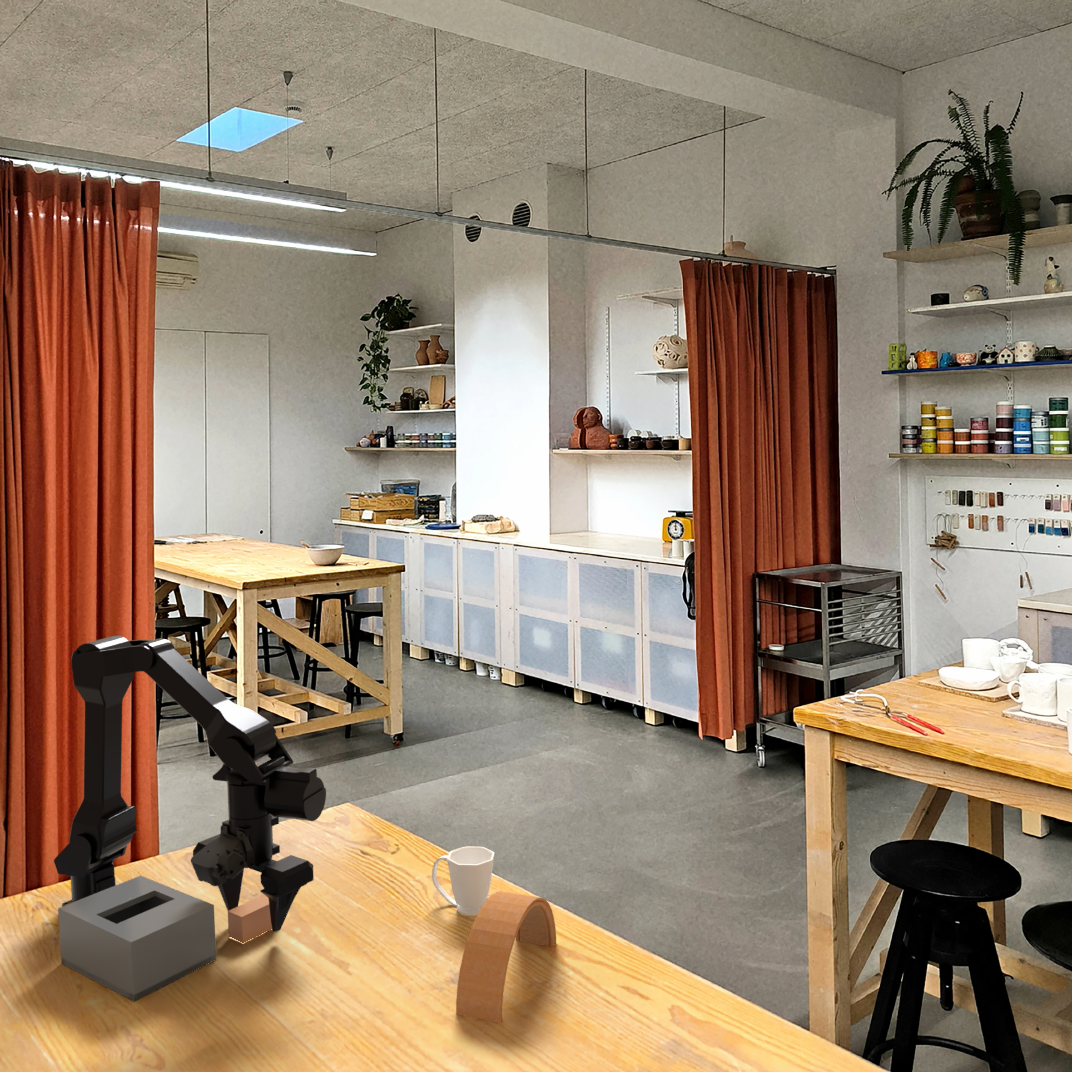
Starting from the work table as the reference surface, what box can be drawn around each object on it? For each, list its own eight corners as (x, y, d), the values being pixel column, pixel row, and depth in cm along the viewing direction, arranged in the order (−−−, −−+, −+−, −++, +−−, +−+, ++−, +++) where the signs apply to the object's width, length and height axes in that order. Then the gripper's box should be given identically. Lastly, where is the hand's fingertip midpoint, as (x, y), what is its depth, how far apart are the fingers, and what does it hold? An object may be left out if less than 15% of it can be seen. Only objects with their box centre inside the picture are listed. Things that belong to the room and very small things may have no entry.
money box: (61, 963, 134) (58, 908, 133) (143, 927, 144) (140, 875, 143) (134, 1001, 125) (131, 942, 124) (216, 960, 135) (213, 904, 134)
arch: (557, 944, 138) (557, 872, 137) (499, 1024, 120) (498, 942, 119) (517, 937, 140) (516, 866, 139) (454, 1014, 122) (453, 933, 121)
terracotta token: (228, 939, 141) (227, 911, 140) (266, 920, 146) (265, 893, 145) (243, 945, 139) (242, 916, 138) (280, 926, 144) (279, 899, 144)
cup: (480, 924, 144) (479, 868, 143) (420, 910, 148) (419, 856, 148) (504, 904, 150) (504, 850, 149) (446, 890, 155) (445, 838, 154)
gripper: (157, 816, 139) (162, 926, 141) (247, 846, 129) (252, 966, 130) (224, 792, 149) (229, 896, 150) (314, 819, 138) (318, 931, 139)
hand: (254, 921), depth 142 cm, fingers open, 9 cm apart
